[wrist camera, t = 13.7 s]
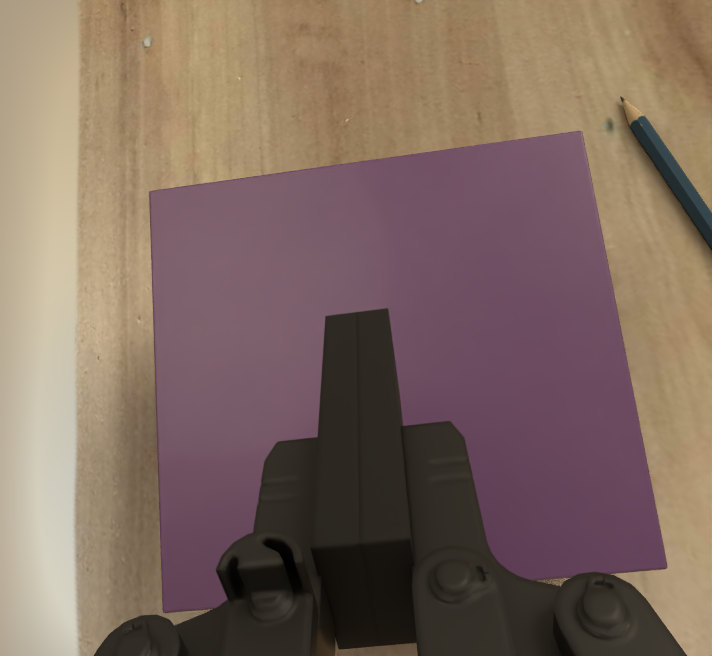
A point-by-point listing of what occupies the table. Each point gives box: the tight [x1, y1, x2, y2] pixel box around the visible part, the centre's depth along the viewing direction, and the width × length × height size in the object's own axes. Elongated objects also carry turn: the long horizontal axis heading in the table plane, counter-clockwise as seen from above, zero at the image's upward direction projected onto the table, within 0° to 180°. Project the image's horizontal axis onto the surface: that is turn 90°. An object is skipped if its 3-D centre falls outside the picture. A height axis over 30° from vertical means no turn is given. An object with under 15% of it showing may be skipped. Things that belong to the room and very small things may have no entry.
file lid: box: [149, 131, 667, 613], centre depth 23 cm, size 15×17×1 cm
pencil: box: [620, 96, 712, 249], centre depth 32 cm, size 1×1×15 cm
